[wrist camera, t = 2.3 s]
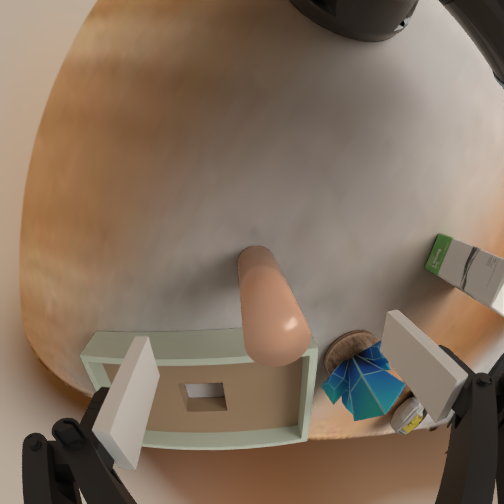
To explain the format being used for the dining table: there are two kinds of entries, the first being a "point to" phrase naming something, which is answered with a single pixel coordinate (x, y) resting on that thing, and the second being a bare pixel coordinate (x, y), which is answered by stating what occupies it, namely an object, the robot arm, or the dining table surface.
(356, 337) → the gemstone
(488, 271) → the ink box
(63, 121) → the dining table surface
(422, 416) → the toy
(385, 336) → the robot arm
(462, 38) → the dining table surface
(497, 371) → the globe
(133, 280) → the dining table surface
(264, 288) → the peg
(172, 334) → the box
